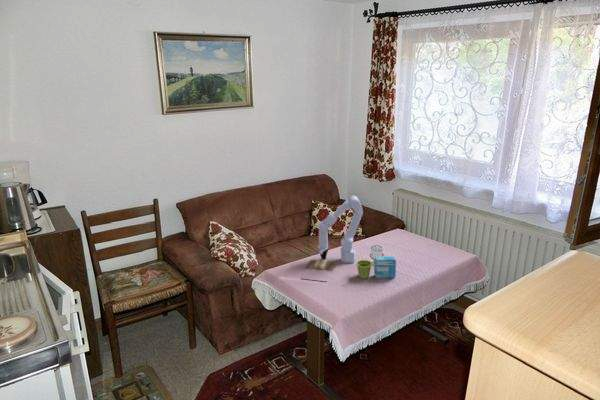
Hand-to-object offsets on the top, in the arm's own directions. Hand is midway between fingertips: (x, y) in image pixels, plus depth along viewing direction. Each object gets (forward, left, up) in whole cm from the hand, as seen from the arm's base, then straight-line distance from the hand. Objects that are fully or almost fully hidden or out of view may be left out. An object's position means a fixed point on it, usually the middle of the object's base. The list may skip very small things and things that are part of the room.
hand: (323, 260), depth 268 cm
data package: (-40, +9, -2) cm, 41 cm away
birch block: (0, +6, -1) cm, 6 cm away
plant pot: (-28, +12, -2) cm, 31 cm away
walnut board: (0, +6, -2) cm, 7 cm away
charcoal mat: (0, +19, -2) cm, 19 cm away
